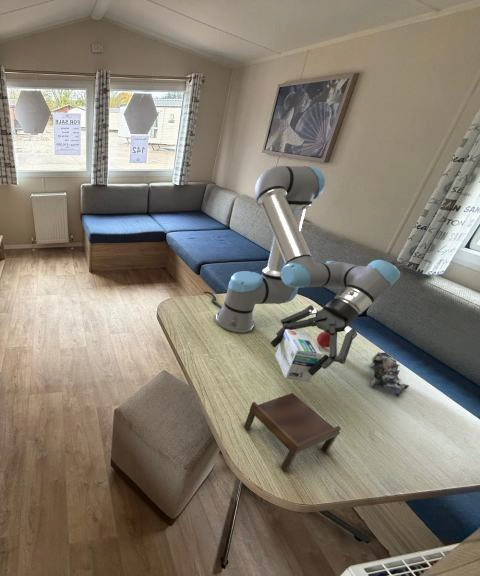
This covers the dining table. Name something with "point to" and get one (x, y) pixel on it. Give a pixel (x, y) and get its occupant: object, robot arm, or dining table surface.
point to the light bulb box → (297, 355)
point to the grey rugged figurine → (385, 366)
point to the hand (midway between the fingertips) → (290, 358)
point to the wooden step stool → (293, 425)
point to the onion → (324, 339)
